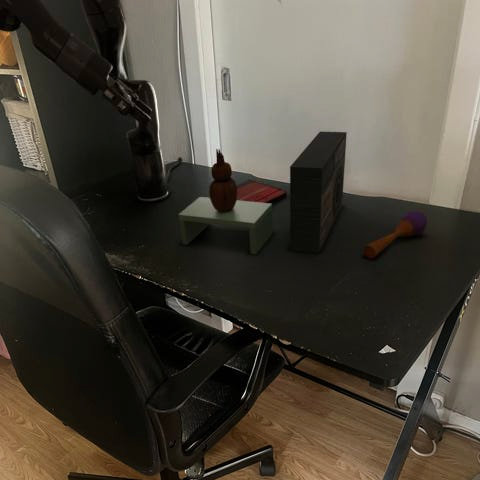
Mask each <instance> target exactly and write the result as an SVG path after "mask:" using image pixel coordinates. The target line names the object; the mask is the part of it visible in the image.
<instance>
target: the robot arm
mask: <svg viewBox="0 0 480 480" xmlns="http://www.w3.org/2000/svg"><path fill="white" fill-rule="evenodd" d="M79 2H80V4H81V8H82V11H83V14H84V16H85V19H86V22H87V25H88V27H89V29H90V33H91V35H92V37H93V40H94V42H95V45H96V49H97V51H96V50H95V49H94V48H93V47H91V45H89V44H88V43H87V42H86V41H84V40H82V39H81V38H79V36H77V35H75V33H73V32H71V31H70V30H69V29H68V28H67V27H66V26H64V25H63V24H62V23H61V22H60V21H58V20H57V19H56V18H55V17H54V16H53V14H51V12H50V11H49V9H48V8H47V7H46V6H45V4H44V3H43V2H42V1H41V0H0V31H2V32H5V33H11V32H16V31H18V30H19V29H20V28H21V27H22V26H24V27H25V28H26V29H27V30H28V33H29V38H30V43H31V45H32V47H33V48H34V49H35V50H36V51H37V52H38V53H40V54H41V55H42V56H43V57H45V59H47V60H49V61H50V62H51V63H52V64H53V65H55V66H56V67H57V68H58V69H59V70H60V71H61V72H62V73H63V74H65V75H66V77H68V78H69V79H70V80H72V81H73V82H74V83H76V84H77V85H78V86H79V87H81V88H82V89H83V90H84V91H86V92H87V93H88V94H89V95H90V96H96V94H97V93H98V92H99V91H100V90H101V92H102V95H101V97H102V98H103V99H104V100H106V101H107V102H108V103H110V104H111V105H112V106H113V107H114V108H115V109H116V110H117V113H119V114H120V115H122V116H125V117H132V118H133V119H134V120H135V121H136V122H137V123H138V124H137V126H136V127H133V128H130V129H129V130H128V131H127V132H126V139H127V140H126V142H127V147H128V152H129V157H130V162H131V167H132V172H133V176H134V177H133V178H134V182H135V187H136V188H135V189H136V193H137V199H138V201H139V202H142V203H157V202H160V201H164V200H165V199H167V198H168V197H169V193H170V191H169V183H168V180H169V178H170V176H171V175H170V172H171V171H172V170H173V169H174V168H176V167H177V166H178V165H179V164H180V162H182V161H183V158H182V157H181V156H180V157H178V158H177V160H176V162H174V163H173V164H171V166H169V168H167V170H166V163H164V159H163V154H162V153H163V152H162V148H161V142H160V133H159V132H160V121H159V111H158V102H157V101H158V100H157V96H156V91H155V88H154V86H153V84H152V83H151V81H149V80H146V79H129V78H128V76H127V73H126V70H125V67H124V61H123V55H124V48H125V45H126V39H127V32H128V25H127V20H126V17H125V13H124V10H123V7H122V3H121V0H79Z"/></svg>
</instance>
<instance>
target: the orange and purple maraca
mask: <svg viewBox="0 0 480 480" xmlns="http://www.w3.org/2000/svg"><path fill="white" fill-rule="evenodd" d="M427 225H428V220H427V216H426V215H425V214H424V213H423V212H422V211H420V210H416V209H415V210H409V211H408V212H405V213H404V214H403V216H402V217H401V220H400V221H399V222H398V224H397V226H396V229H395V231H394V232H393V233H390V234H388V235H386V236H384V237H382V238H379V239H377V240H375V241H372V242H370V243H368V244H366V245H364V246H363V254H364V256H365V257H366V258H367V259H369V260H371V259H374V258H376V257H377V256H378V255H379V254H380V253H381V252H382V251H383V250H384V249H385V248H386V247H388V246H389V245H390V244H391V243H392V242H393V241H394V240H395V239H396V238H397V237H410V236H418V235H420V234H422V233H423V232H424V231H425V229H426V227H427Z"/></svg>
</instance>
